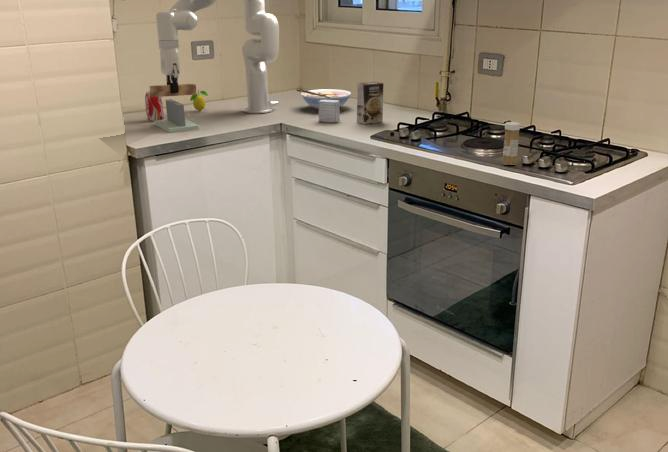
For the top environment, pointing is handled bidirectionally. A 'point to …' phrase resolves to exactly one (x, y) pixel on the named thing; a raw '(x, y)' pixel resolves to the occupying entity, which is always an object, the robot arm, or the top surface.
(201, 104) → the lemon
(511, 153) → the sprinkles bottle
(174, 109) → the stand
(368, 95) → the coffee box
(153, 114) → the soda can
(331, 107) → the medicine box
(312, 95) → the ramen bowl
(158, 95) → the walnut bar
